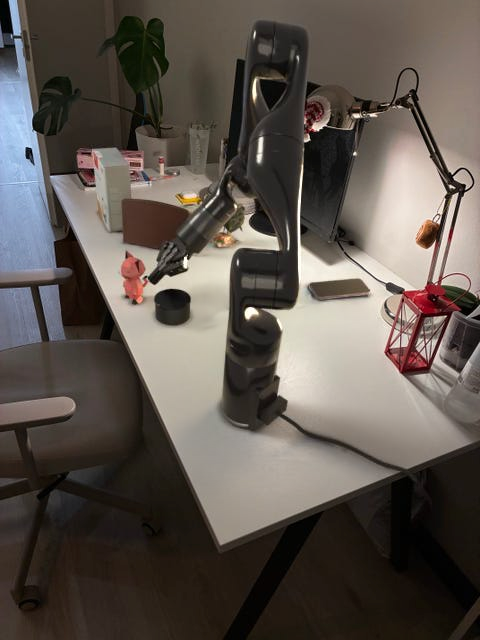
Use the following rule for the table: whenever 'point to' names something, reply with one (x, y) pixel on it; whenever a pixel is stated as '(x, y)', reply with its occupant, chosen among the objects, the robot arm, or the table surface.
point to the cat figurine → (133, 278)
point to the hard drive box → (111, 185)
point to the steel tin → (172, 306)
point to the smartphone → (339, 288)
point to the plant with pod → (230, 228)
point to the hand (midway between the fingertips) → (150, 282)
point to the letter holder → (150, 222)
